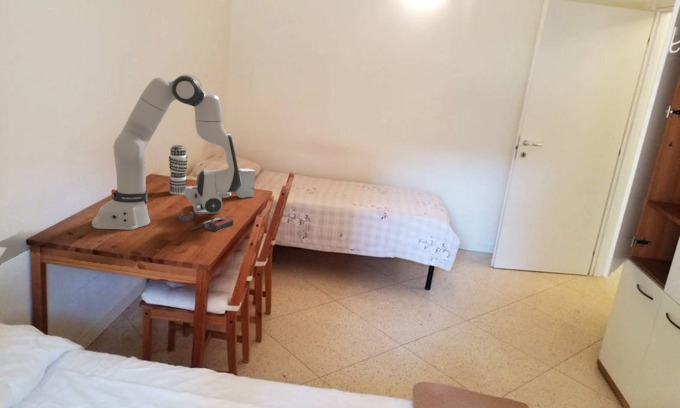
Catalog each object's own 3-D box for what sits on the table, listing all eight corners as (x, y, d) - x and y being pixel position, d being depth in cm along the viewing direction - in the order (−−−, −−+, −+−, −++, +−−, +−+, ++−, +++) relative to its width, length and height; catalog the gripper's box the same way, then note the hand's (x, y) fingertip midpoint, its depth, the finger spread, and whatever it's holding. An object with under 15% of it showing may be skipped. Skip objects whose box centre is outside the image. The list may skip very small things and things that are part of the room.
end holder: (194, 214, 222) (195, 201, 220) (192, 205, 233) (192, 193, 231) (219, 213, 226) (219, 201, 224) (215, 205, 237) (215, 193, 235)
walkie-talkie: (221, 220, 218) (188, 231, 201) (221, 211, 216) (188, 221, 199) (236, 225, 214) (203, 237, 197) (236, 216, 213) (204, 227, 195)
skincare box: (240, 198, 253) (241, 171, 248) (235, 195, 257) (236, 168, 253) (254, 197, 258) (255, 170, 253) (249, 194, 262) (250, 167, 258)
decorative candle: (172, 189, 256) (172, 143, 249) (189, 191, 256) (190, 145, 249) (166, 193, 248) (165, 146, 240) (183, 195, 247) (183, 148, 240)
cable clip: (179, 221, 210) (179, 214, 210) (178, 218, 214) (178, 211, 213) (193, 220, 213) (193, 214, 212) (192, 217, 216) (192, 211, 215)
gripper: (232, 188, 218) (228, 180, 230) (185, 188, 210) (183, 180, 222) (232, 201, 220) (227, 193, 232) (185, 202, 212) (183, 193, 224)
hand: (205, 187), depth 227 cm, fingers open, 7 cm apart
